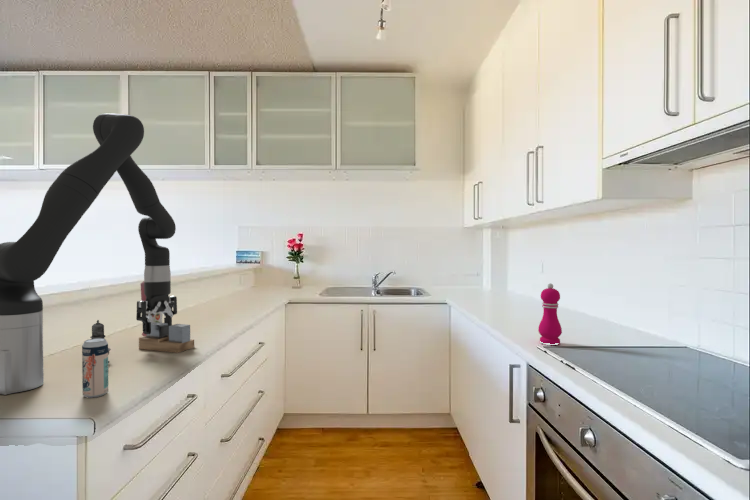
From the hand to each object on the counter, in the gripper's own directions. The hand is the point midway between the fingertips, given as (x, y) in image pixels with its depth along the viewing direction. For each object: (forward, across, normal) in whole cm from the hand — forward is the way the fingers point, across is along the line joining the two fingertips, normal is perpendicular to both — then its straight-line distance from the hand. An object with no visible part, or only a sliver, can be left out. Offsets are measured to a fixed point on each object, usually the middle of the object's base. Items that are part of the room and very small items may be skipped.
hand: (157, 331), depth 140 cm
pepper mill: (+5, +46, -118) cm, 127 cm away
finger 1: (+3, 0, 0) cm, 3 cm away
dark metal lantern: (+5, -20, +1) cm, 21 cm away
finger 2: (+3, 0, -8) cm, 9 cm away
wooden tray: (+5, 0, -4) cm, 6 cm away
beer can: (+5, -39, -21) cm, 45 cm away
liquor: (+5, +11, +13) cm, 18 cm away
